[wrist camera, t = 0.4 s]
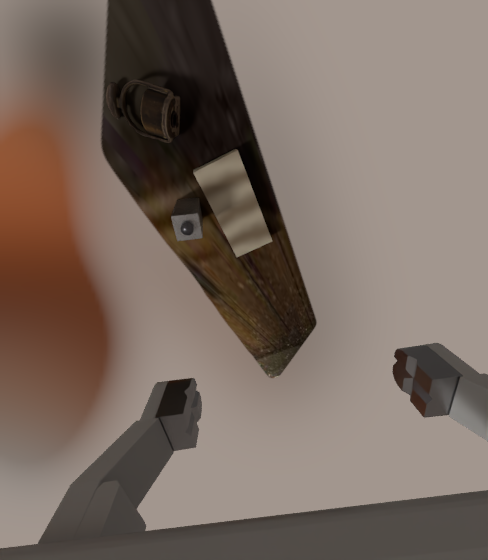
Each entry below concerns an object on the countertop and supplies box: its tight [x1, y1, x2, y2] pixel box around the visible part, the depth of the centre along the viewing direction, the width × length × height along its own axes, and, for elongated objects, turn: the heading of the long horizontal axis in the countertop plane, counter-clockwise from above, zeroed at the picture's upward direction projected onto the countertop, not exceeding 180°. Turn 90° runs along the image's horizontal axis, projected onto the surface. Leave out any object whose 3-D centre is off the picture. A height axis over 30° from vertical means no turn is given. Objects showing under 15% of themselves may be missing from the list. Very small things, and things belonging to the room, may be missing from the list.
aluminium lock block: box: [171, 197, 203, 241], centre depth 48 cm, size 5×5×13 cm
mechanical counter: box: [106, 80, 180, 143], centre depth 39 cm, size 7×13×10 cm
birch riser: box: [193, 149, 272, 257], centre depth 53 cm, size 22×10×4 cm, turn 23°
